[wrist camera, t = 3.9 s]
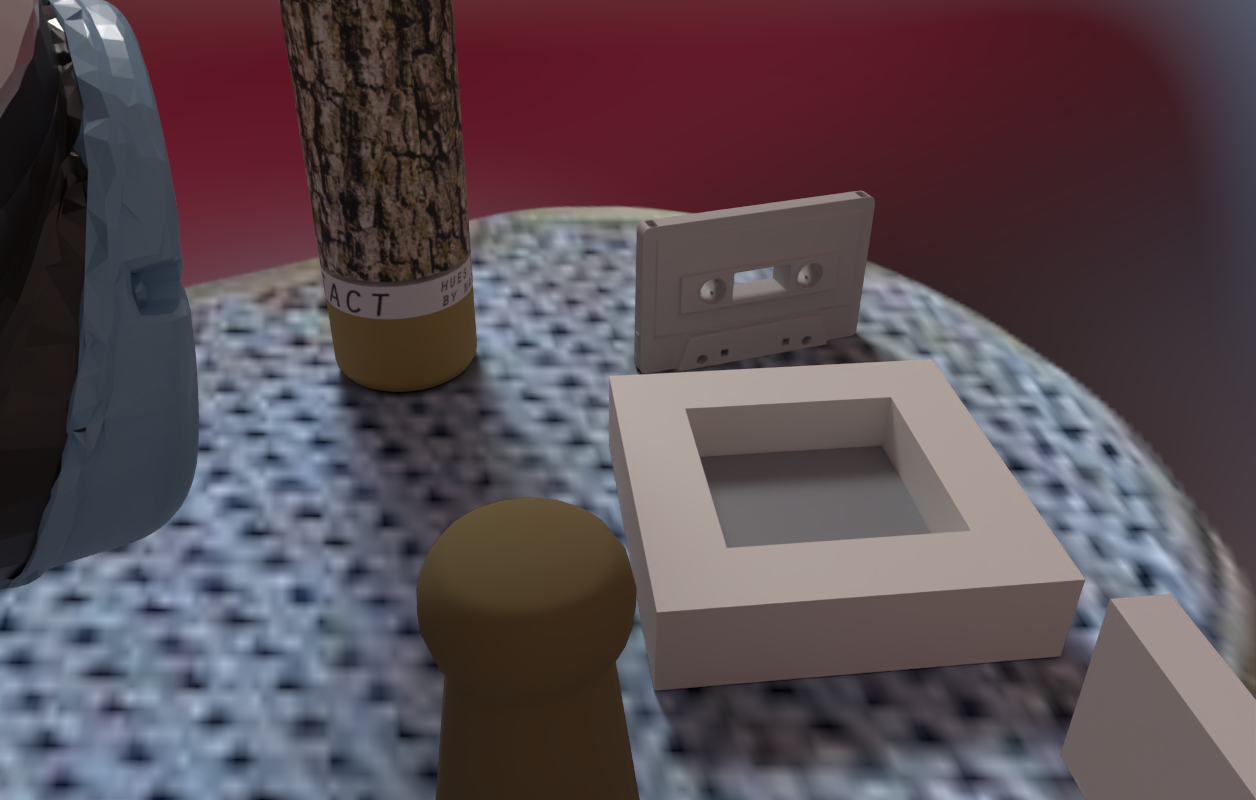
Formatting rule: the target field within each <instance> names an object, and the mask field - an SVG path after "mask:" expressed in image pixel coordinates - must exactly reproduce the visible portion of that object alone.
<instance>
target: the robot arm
mask: <svg viewBox="0 0 1256 800" xmlns="http://www.w3.org/2000/svg"><path fill="white" fill-rule="evenodd" d="M182 269H183V265H182V257H181V252H180V233H179V217H178V211H177V205H176V199H175V193H174V187H173V182H172V177H171V171H170V166H169V161H168V156H167V151H166V146H165V141H164V136H163V131H162V127H161V122H160V118H159V114H158V110H157V105H156V101H155V97H154V93H153V90H152V86H151V82H150V79H149V75H148V72H147V69H146V66H145V63H144V60H143V57H142V54H141V51H140V49H139V44H138V42H137V39H136V37H135V35H134V33H133V31H132V28H131V27H130V25H129V23H128V22H127V20H126V18H125V17H124V16H123V15H122V13H121V12H120V11H119V10H118V9H117V8H116V7H114V6H113V5H111V4H110V3H108V2H107V1H103V0H0V589H6V588H15V587H19V586H22V585H26V584H29V583H31V582H33V581H34V580H36V579H38V578H39V577H40V576H41V575H42V574H43V573H44V572H45V571H46V570H47V569H49V568H52V567H55V566H58V565H61V564H65V563H68V562H71V561H74V560H78V559H81V558H84V557H87V556H90V555H94V554H97V553H100V552H103V551H107V550H110V549H113V548H116V547H119V546H123V545H126V544H129V543H132V542H135V541H137V540H140V539H142V538H145V537H147V536H148V535H150V534H152V533H153V532H155V531H156V530H158V529H159V528H161V527H162V526H163V525H165V524H166V523H167V522H168V521H169V520H170V519H171V518H172V517H173V516H174V515H175V513H176V512H177V511H178V510H179V508H180V507H181V506H182V504H183V502H184V500H185V498H186V497H187V495H188V492H189V490H190V487H191V485H192V482H193V478H194V474H195V469H196V464H197V456H198V443H199V403H198V381H197V366H196V352H195V344H194V336H193V327H192V319H191V310H190V307H189V303H188V299H187V296H186V292H185V289H184V287H183V285H182V284H181V281H180V278H181V274H182ZM1060 755H1061V756H1062V758H1063V760H1064V762H1065V763H1066V765H1067V767H1068V769H1069V771H1070V772H1071V774H1072V776H1073V778H1074V779H1075V781H1076V783H1077V785H1078V786H1079V788H1080V790H1081V792H1082V793H1083V795H1084V797H1085V799H1086V800H1256V700H1255V699H1254V697H1253V696H1252V695H1251V694H1250V692H1249V691H1248V690H1247V689H1246V687H1245V686H1244V685H1243V684H1242V682H1241V681H1240V680H1239V679H1238V677H1237V676H1236V675H1235V674H1234V672H1233V671H1232V670H1231V669H1230V667H1229V666H1228V665H1227V664H1226V662H1225V661H1224V660H1223V659H1222V657H1221V656H1220V655H1219V654H1218V652H1217V651H1216V650H1215V649H1214V648H1213V646H1212V645H1211V644H1210V643H1209V641H1208V640H1207V639H1206V638H1205V636H1204V635H1203V634H1202V633H1201V631H1200V630H1199V629H1198V628H1197V626H1196V625H1195V624H1194V623H1193V621H1192V620H1191V619H1190V618H1189V616H1188V615H1187V614H1186V613H1185V611H1184V610H1183V609H1182V608H1181V606H1180V605H1179V604H1178V603H1177V601H1176V600H1175V599H1174V598H1173V596H1172V595H1171V594H1164V595H1152V596H1141V597H1129V598H1117V599H1110V602H1109V605H1108V608H1107V611H1106V614H1105V617H1104V620H1103V623H1102V627H1101V630H1100V633H1099V636H1098V639H1097V642H1096V645H1095V648H1094V651H1093V655H1092V658H1091V661H1090V664H1089V667H1088V670H1087V673H1086V676H1085V680H1084V683H1083V686H1082V689H1081V692H1080V695H1079V698H1078V701H1077V705H1076V708H1075V711H1074V714H1073V717H1072V720H1071V723H1070V726H1069V730H1068V733H1067V736H1066V739H1065V742H1064V745H1063V748H1062V751H1061V754H1060Z"/></svg>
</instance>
